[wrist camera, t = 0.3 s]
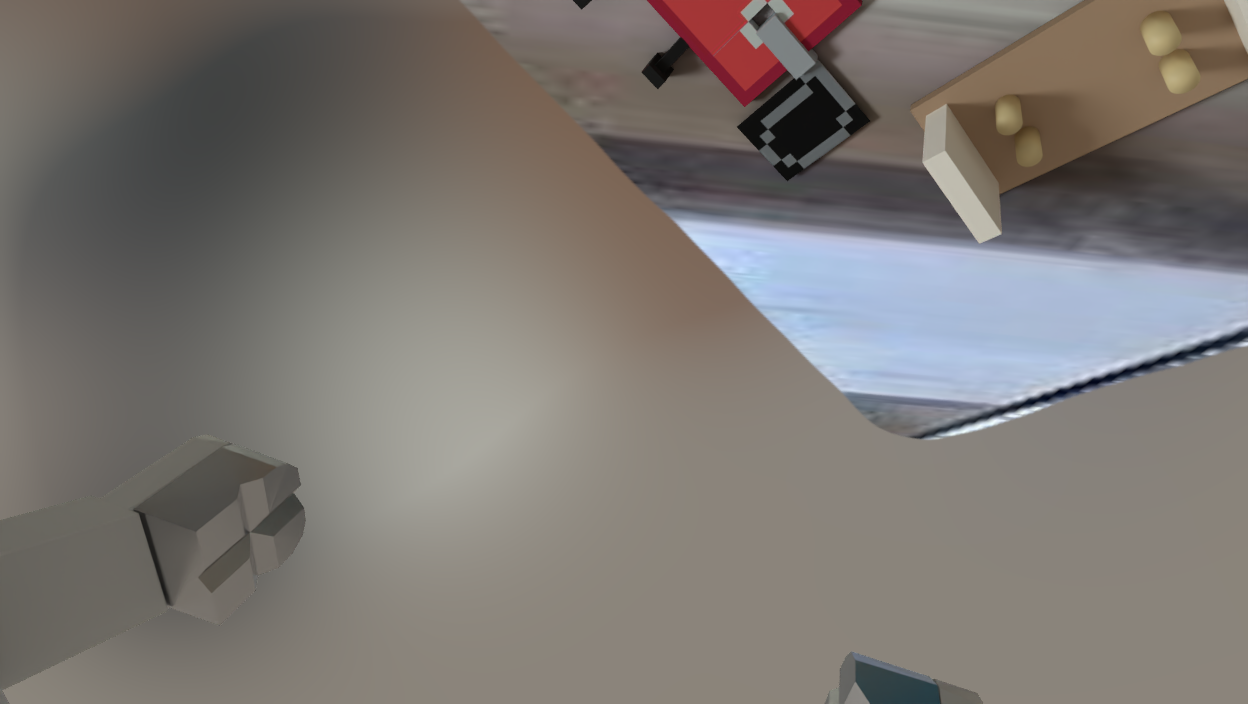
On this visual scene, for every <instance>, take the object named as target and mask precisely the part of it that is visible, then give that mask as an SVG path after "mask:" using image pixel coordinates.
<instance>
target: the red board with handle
mask: <svg viewBox="0 0 1248 704" xmlns="http://www.w3.org/2000/svg"><path fill="white" fill-rule="evenodd" d="M573 1H574V2H575V3H576V4H577V5H578V6H579V7H580V8H581V9H583V8H584V7H585V6H586V5H587V4H588V3H589V2H590V1H592V0H573ZM647 1H648V2H649V3H650V4H651V5H652V6H653V8H654V9H655V10H656V11H657V12H658V13H659V14H660V15H661V16H662V17H663V18H664V20H665V21H666V22H667V23H668V24H669V25H670V26H671V27H672V28H673V29H674V30H675V32H676V33H677V34H678V35H679V36H680V38H679V39H678V40H677V42H676V43H675V44H674V45H673V46H672V47H671V48H670V49H669V50H668V51H667V52H666V54H665V55H664V56H663V57H661V56H660V55H659V53H657V54H656V55H655V56H654V57H653V58H652V59H651V60H650V62H649V63H648V64H647V66H646V67H645V68H644V69H643V71H642V73H643V74H644V75H645V76H646V77H647V79H648V80H649V81H650V82H651V83H652V84H653V85H654V86H655V87H656V88H657V89H658V88H659V87H660V86H661V85H662V84H663V83H664V82H665V81H666V80H667V78H668V77H669V75H670V74H671V73H672V71H673V70H674V69H673V68H672V67H671V65H672V64H673V63H674V62H675V61H676V60H677V59H678V58H679V57H680V56H681V55H682V54H683V53H684V52H685V51H686V49H687V48H688V47H690V48H691V49H692V50H693V51H694V52H695V53H696V55H697V56H698V57H699V58H700V59H701V60H702V61H703V62H704V63H705V64H706V65H707V67H708V68H709V69H710V70H711V71H712V72H713V73H714V74H715V75H716V76H717V77H718V79H719V80H720V81H721V82H722V83H723V84H724V85H725V86H726V87H727V88H728V90H729V91H730V92H731V93H732V94H733V95H734V96H735V97H736V98H737V99H738V100H739V102H740V103H741V104H742V105H743V106H744V107H745V106H746V105H748V104H749V103H750V102H751V101H752V100H753V99H755V98H756V97H757V96H758V95H759V94H760V93H761V92H763V91H764V90H765V89H766V88H767V87H768V86H769V85H771V84H772V83H773V82H774V81H775V80H776V79H778V78H779V77H780V76H781V75H782V74H783V73H784V72H786V71H787V70H788V71H789V72H790V73H791V75H792V76H793V77H794V79H793V80H791V81H790V82H789V83H788V84H787V85H786V86H784V87H783V88H782V89H781V90H780V91H779V92H777V93H776V94H775V95H774V96H773V97H771V98H770V99H769V100H768V101H767V102H766V103H764V104H763V105H762V106H761V107H760V108H759V109H757V110H756V111H755V112H754V113H753V114H752V115H750V116H749V117H748V118H747V119H746V120H744V121H743V122H742V123H741V124H740V125H739V126H737V128H738V129H739V130H740V131H741V132H742V133H743V134H744V135H745V136H746V137H747V138H748V139H749V141H750V142H751V143H752V144H753V145H754V146H755V147H756V148H757V149H758V150H759V151H760V152H761V153H762V155H763V156H764V157H765V158H766V159H767V160H768V161H769V162H770V163H771V164H772V165H773V166H774V167H775V168H776V170H777V171H778V172H779V173H780V174H781V175H782V176H783V177H784V178H785V179H786V180H787V181H788V180H790V179H791V178H792V177H794V176H795V175H796V174H798V173H799V172H801V171H802V170H803V169H805V168H806V167H807V166H809V165H810V164H812V163H813V162H814V161H816V160H817V159H819V158H820V157H821V156H823V155H824V154H825V153H827V152H828V151H830V150H831V149H832V148H834V147H835V146H836V145H838V144H839V143H841V142H842V141H843V140H845V139H846V138H847V137H849V136H850V135H852V134H853V133H854V132H856V131H857V130H859V129H860V128H861V127H863V126H864V125H865V124H867V123H868V122H870V120H869V119H868V118H867V117H866V115H865V114H864V113H863V112H862V111H861V110H860V108H859V107H858V106H857V105H856V104H855V102H854V101H853V100H852V99H851V98H850V97H849V95H848V94H847V93H846V92H845V91H844V89H843V88H842V87H841V86H840V85H839V84H838V82H837V81H836V80H835V79H834V78H833V77H832V75H831V74H830V73H829V72H828V71H827V69H826V68H825V67H824V66H823V65H822V64H821V62H820V61H819V60H818V59H817V58H818V55H817V54H816V53H815V52H814V51H813V49H812V48H813V47H814V46H815V45H817V44H818V43H819V42H820V41H821V40H822V39H823V38H825V37H826V36H827V35H828V34H829V33H830V32H832V31H833V30H834V29H835V28H836V27H837V26H838V25H840V24H841V23H842V22H843V21H844V20H845V19H846V18H848V17H849V16H850V15H851V14H852V13H853V12H855V11H856V10H857V9H858V8H859V7H860V6H861V5H862V2H863V1H862V0H647ZM767 3H768V5H769V6H770V7H771V8H772V9H773V10H774V13H773V14H772V15H771V16H770V17H769V18H768V19H767V20H766V21H765V22H764V23H763V24H762V25H761V26H760V27H759V26H758V25H757V24H756V23H755V22H754V20H753V19H752V18H753V17H754V16H755V15H756V14H757V13H758V12H759V11H760V10H761V9H762V8H763V7H764V6H765V5H766V4H767Z"/></svg>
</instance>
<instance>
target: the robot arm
mask: <svg viewBox="0 0 1248 704" xmlns="http://www.w3.org/2000/svg"><path fill="white" fill-rule="evenodd" d="M300 486H301V483H300V478H299V473H298V468H296V467H294V466H292V465H290V464H288V463H285V462H282V461H280V460H277V459H274V458H272V457H269V456H266V455H263V454H261V453H258V452H255V451H252V450H250V449H247V448H244V447H242V446H239V445H236V444H232V443H230V442H227V441H224V440H221V439H218V438H216V437H213V436H210V435H202V436H197V437H193V438H192V439H190V440H189V441H187V442H186V443H184V444H182V445H181V446H180V447H178V448H176V449H175V450H173V451H172V452H170V453H169V454H167V455H166V456H164V457H163V458H161V459H160V460H158V461H157V462H155V463H154V464H152V465H150V466H149V467H147V468H146V469H144V470H143V471H141V472H140V473H138V474H137V475H135V476H134V477H132V478H131V479H129V480H128V481H126V482H125V483H123V484H122V485H120V486H119V487H117V488H115V489H114V490H112V491H111V492H110V493H108V494H106V495H105V496H103V497H102V498H96V497H94V496H89V497H85V498H81V499H77V500H73V501H70V502H66V503H62V504H59V505H55V506H51V507H48V508H44V509H40V510H37V511H33V512H29V513H25V514H22V515H18V516H14V517H10V518H7V519H3V520H0V704H9V702H8V700H7V698H6V697H5V695H4V693H3V691H2V690H4V689H6V688H8V687H10V686H12V685H14V684H17V683H19V682H21V681H23V680H25V679H27V678H29V677H31V676H33V675H35V674H37V673H39V672H42V671H44V670H46V669H48V668H50V667H52V666H54V665H56V664H58V663H60V662H62V661H65V660H67V659H68V658H71V657H73V656H75V655H77V654H79V653H81V652H83V651H85V650H87V649H90V648H91V647H94V646H96V645H97V644H100V643H102V642H104V641H106V640H108V639H110V638H112V637H115V636H116V635H119V634H121V633H123V632H125V631H126V630H129V629H131V628H133V627H135V626H137V625H140V624H142V623H144V622H146V621H148V620H150V619H152V618H154V617H156V616H158V615H160V614H162V613H165V612H167V611H168V607H169V608H172V609H175V610H178V611H181V612H183V613H186V614H189V615H191V616H194V617H197V618H200V619H203V620H206V621H208V622H211V623H214V624H216V625H221V624H222V623H223V622H224V621H225V620H226V619H227V618H228V617H229V616H230V615H231V614H232V613H233V612H234V611H235V610H236V609H237V608H238V607H239V606H240V605H241V604H242V603H243V602H244V601H245V600H246V599H247V598H248V597H249V596H250V595H251V594H252V593H253V592H255V591H256V586H257V580H258V575H261V574H264V573H266V572H269V571H271V570H274V569H277V568H279V567H280V566H281V565H282V564H283V563H284V561H285V560H287V559H288V557H289V556H290V555H291V554H292V553H293V552H294V550H295V548H296V546H297V545H298V543H299V541H300V539H301V537H302V535H303V531H304V526H305V511H304V507H303V506H302V504H301V503H300V501H299V500H298V498H297V497H296V496H295V494H294V492H295V491H296V490H297V489H298V488H299V487H300ZM839 685H840V686H839V688H836V689H834V690H831V691H830V692H829V694H828V697H827V699H826V702H825V704H983V702H982V700H981V698H980V697H979V695H978V694H977V693H975V692H972V691H969V690H966V689H963V688H960V687H957V686H954V685H951V684H948V683H945V682H942V681H939V680H936V679H931V678H930V677H929V676H926V675H922V674H919V673H916V672H913V671H910V670H907V669H904V668H901V667H898V666H894V665H892V664H889V663H885V662H882V661H879V660H876V659H873V658H870V657H866V656H864V655H860V654H858V653H854V652H850V653H849V654H848V655H847V656H846V658H845V660H844V662H843V664H842V666H841V668H840V683H839Z"/></svg>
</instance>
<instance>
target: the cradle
mask: <svg viewBox="0 0 1248 704" xmlns="http://www.w3.org/2000/svg"><path fill="white" fill-rule="evenodd" d="M1246 79H1248V0H1084V1H1082V2H1081V3H1079V4H1077V5H1076V6H1074V7H1072V8H1071V9H1069V10H1067V11H1066V12H1064V13H1062V14H1061V15H1059V16H1057V17H1056V18H1054V19H1052V20H1051V21H1049V22H1047V23H1046V24H1044V25H1042V26H1041V27H1039V28H1037V29H1036V30H1034V31H1033V32H1031V33H1029V34H1028V35H1026V36H1024V37H1023V38H1021V39H1019V40H1018V41H1016V42H1014V43H1013V44H1011V45H1009V46H1008V47H1006V48H1004V49H1003V50H1001V51H999V52H998V53H996V54H994V55H993V56H991V57H990V58H988V59H986V60H985V61H983V62H981V63H980V64H978V65H976V66H975V67H973V68H971V69H970V70H968V71H966V72H965V73H963V74H961V75H960V76H958V77H956V78H955V79H953V80H951V81H950V82H948V83H946V84H945V85H943V86H942V87H940V88H938V89H937V90H935V91H933V92H932V93H930V94H928V95H927V96H925V97H923V98H922V99H920V100H918V101H917V102H915V103H913V104H912V105H911V109H910V111H911V113H912V114H913V116H914V117H915V119H916V120H917V121H918V123H919V124H920V126H921V127H922V129H923V130H924V132H925V135H924V149H923V162H922V163H923V164H924V166H925V167H926V168H927V170H928V171H929V173H930V174H931V175H932V177H933V178H934V180H935V181H936V183H937V184H938V185H939V187H940V188H941V190H942V191H943V193H944V194H945V195H946V197H947V198H948V200H949V201H950V203H951V204H952V205H953V207H954V208H955V210H956V211H957V213H958V214H959V215H960V217H961V218H962V220H963V221H964V223H965V224H966V225H967V227H968V228H969V230H970V231H971V233H972V234H973V235H974V237H975V238H976V240H977V241H978V242H979V244H980V243H982V242H984V241H987V240H989V239H991V238H994V237H996V236H998V235H1001V234H1002V228H1001V213H1000V198H999V194H1001V193H1003V192H1005V191H1008V190H1010V189H1012V188H1014V187H1016V186H1018V185H1021V184H1023V183H1025V182H1027V181H1029V180H1031V179H1033V178H1036V177H1038V176H1040V175H1042V174H1044V173H1046V172H1048V171H1051V170H1053V169H1055V168H1057V167H1059V166H1061V165H1063V164H1066V163H1068V162H1070V161H1072V160H1074V159H1076V158H1078V157H1081V156H1083V155H1085V154H1087V153H1089V152H1091V151H1093V150H1096V149H1098V148H1100V147H1102V146H1104V145H1106V144H1109V143H1111V142H1113V141H1115V140H1117V139H1119V138H1121V137H1124V136H1126V135H1128V134H1130V133H1132V132H1134V131H1136V130H1139V129H1141V128H1143V127H1145V126H1147V125H1149V124H1151V123H1154V122H1156V121H1158V120H1160V119H1162V118H1164V117H1166V116H1169V115H1171V114H1173V113H1175V112H1177V111H1179V110H1181V109H1184V108H1186V107H1188V106H1190V105H1192V104H1194V103H1197V102H1199V101H1201V100H1203V99H1205V98H1207V97H1209V96H1212V95H1214V94H1216V93H1218V92H1220V91H1222V90H1224V89H1227V88H1229V87H1231V86H1233V85H1235V84H1237V83H1239V82H1242V81H1244V80H1246Z"/></svg>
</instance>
